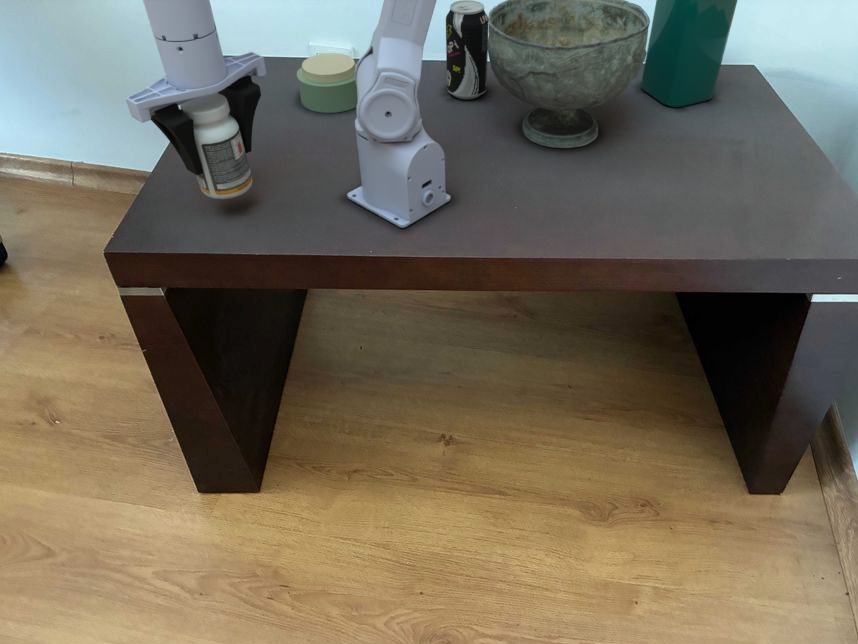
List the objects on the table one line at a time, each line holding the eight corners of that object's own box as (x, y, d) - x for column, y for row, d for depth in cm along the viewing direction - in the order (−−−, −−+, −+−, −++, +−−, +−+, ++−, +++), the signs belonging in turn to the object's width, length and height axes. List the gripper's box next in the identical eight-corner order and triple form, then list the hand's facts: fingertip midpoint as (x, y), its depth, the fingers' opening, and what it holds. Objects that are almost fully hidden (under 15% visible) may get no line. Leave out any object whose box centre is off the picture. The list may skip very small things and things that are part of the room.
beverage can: (439, 89, 103) (437, 2, 95) (474, 81, 105) (475, -5, 97) (459, 105, 100) (458, 16, 91) (494, 96, 102) (496, 8, 93)
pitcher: (634, 86, 104) (664, -85, 89) (682, 76, 107) (719, -93, 91) (675, 115, 98) (715, -65, 82) (724, 103, 100) (772, -73, 85)
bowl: (580, 86, 104) (593, -25, 94) (660, 145, 92) (686, 25, 81) (458, 113, 98) (457, -3, 87) (526, 180, 86) (535, 55, 75)
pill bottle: (260, 175, 81) (240, 90, 74) (244, 203, 77) (221, 116, 70) (211, 172, 81) (187, 88, 74) (193, 200, 77) (165, 114, 70)
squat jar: (377, 97, 101) (374, 62, 98) (329, 119, 97) (324, 83, 93) (336, 79, 106) (332, 45, 102) (287, 99, 101) (281, 64, 97)
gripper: (225, 0, 73) (253, 124, 83) (91, 41, 65) (139, 173, 75) (267, 17, 70) (291, 144, 79) (131, 63, 62) (176, 197, 72)
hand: (220, 159), depth 77 cm, fingers closed on pill bottle, 5 cm apart
